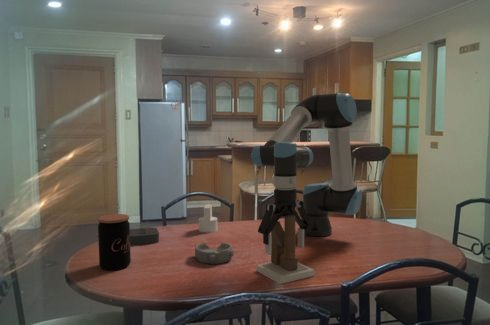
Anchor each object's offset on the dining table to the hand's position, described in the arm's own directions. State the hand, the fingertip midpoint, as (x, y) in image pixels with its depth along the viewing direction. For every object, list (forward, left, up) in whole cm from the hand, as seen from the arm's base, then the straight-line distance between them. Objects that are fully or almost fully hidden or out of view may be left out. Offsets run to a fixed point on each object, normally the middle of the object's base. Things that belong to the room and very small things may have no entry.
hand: (284, 250), depth 138 cm
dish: (-26, -14, -8) cm, 31 cm away
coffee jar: (-37, -48, -8) cm, 61 cm away
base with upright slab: (-65, +2, -8) cm, 66 cm away
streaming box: (-64, -30, -8) cm, 71 cm away
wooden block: (-1, 0, -6) cm, 6 cm away
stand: (0, 0, -8) cm, 8 cm away
